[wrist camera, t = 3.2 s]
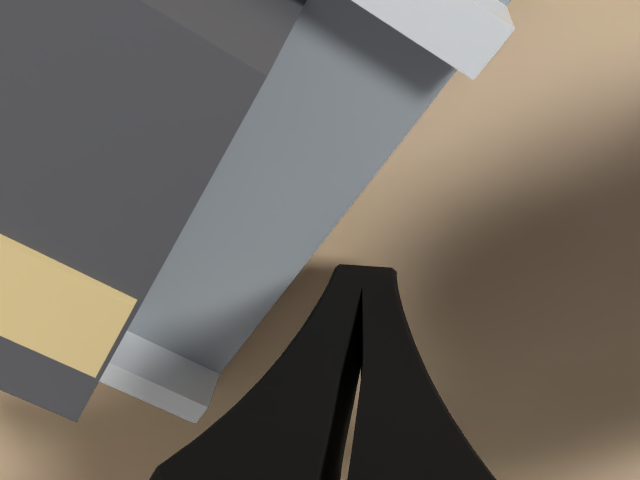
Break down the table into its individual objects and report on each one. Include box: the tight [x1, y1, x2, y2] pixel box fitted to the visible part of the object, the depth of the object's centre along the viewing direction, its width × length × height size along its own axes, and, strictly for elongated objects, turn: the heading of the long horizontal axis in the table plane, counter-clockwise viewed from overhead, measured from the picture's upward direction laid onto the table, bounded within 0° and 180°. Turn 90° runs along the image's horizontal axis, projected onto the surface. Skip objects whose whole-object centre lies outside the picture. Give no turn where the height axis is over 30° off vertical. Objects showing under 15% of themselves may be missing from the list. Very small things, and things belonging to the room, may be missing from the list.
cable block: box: [0, 0, 307, 422], centre depth 12 cm, size 5×10×4 cm, turn 150°
